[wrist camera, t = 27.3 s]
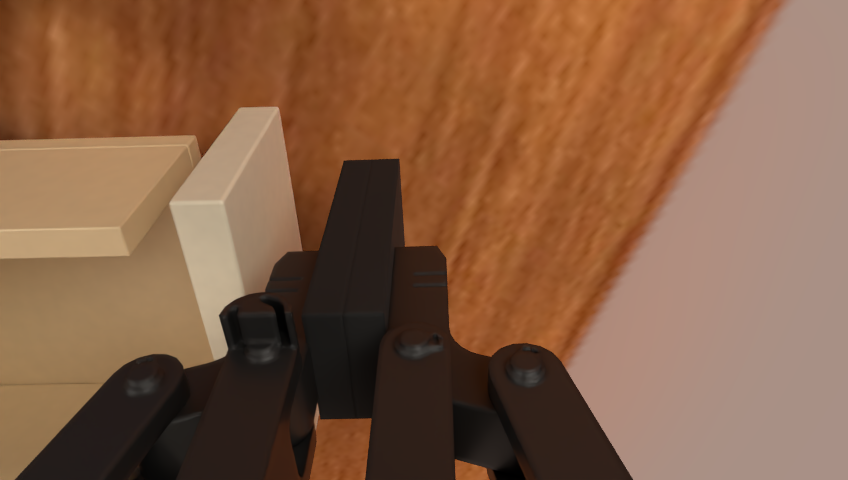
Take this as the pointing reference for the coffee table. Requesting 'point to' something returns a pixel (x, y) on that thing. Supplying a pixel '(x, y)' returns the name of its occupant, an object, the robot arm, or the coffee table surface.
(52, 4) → the coffee table surface
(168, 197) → the drawer
